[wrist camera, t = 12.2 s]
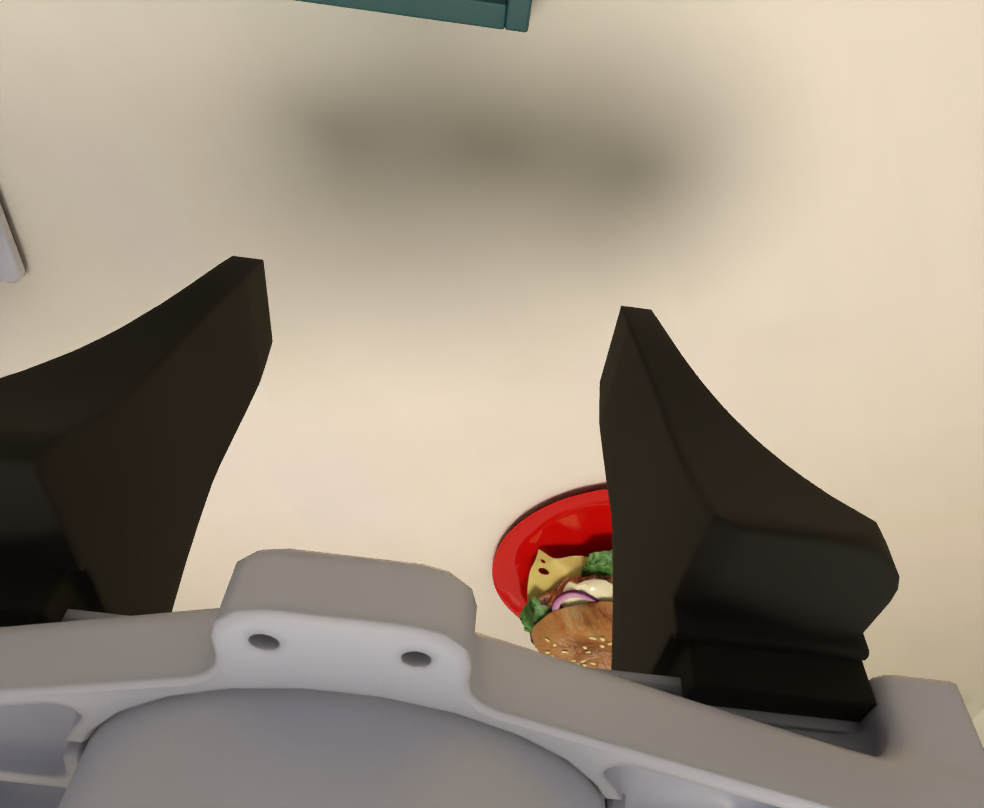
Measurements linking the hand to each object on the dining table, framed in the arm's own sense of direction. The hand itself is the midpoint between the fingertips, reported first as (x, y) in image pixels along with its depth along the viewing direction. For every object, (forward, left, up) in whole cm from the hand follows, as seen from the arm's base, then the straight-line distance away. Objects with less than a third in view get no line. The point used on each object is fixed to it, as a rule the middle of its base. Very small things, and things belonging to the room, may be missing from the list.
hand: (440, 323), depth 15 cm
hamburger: (+10, -22, -11) cm, 26 cm away
